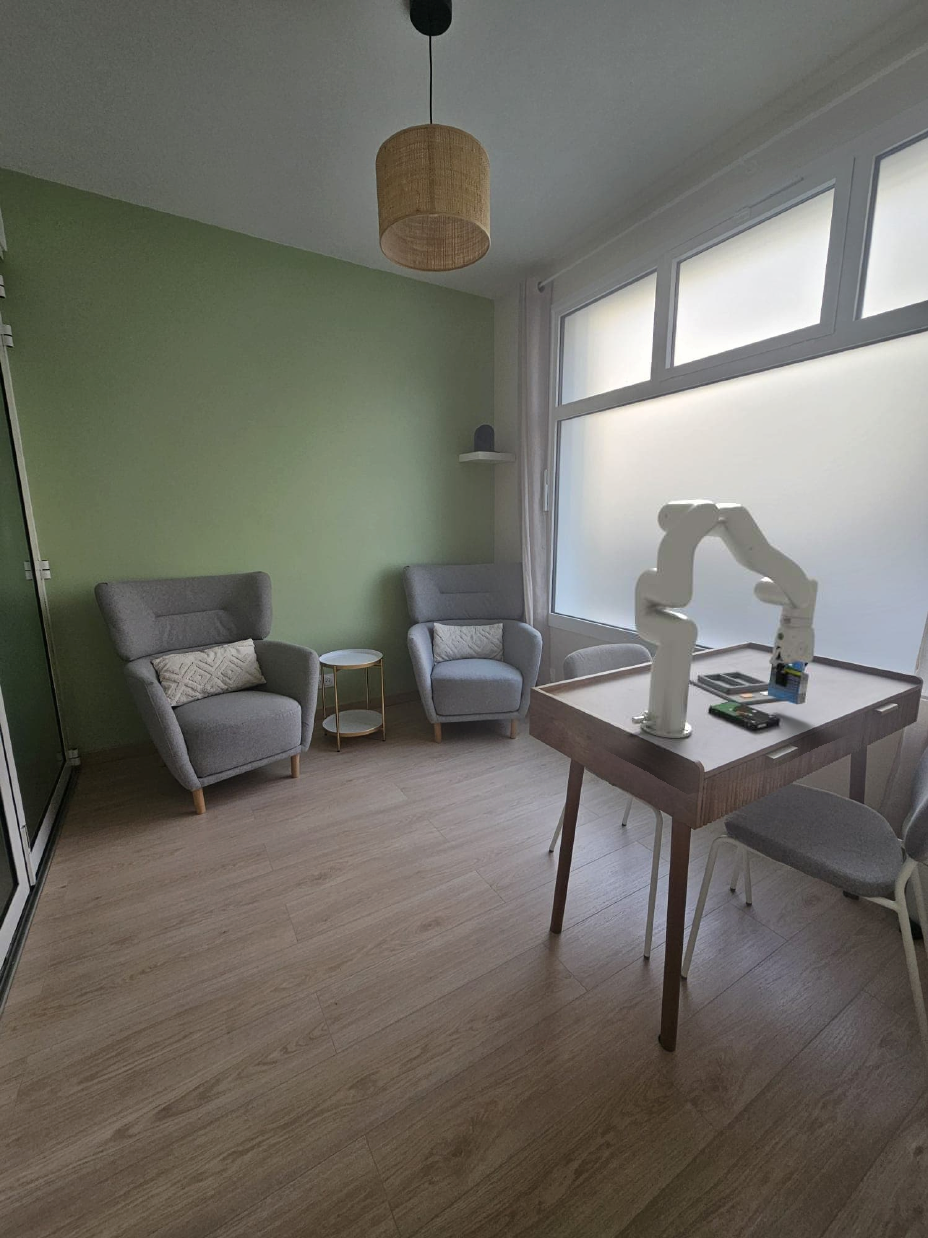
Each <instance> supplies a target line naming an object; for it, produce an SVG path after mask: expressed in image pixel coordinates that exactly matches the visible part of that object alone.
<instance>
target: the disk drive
mask: <svg viewBox="0 0 928 1238" xmlns="http://www.w3.org/2000/svg"><path fill="white" fill-rule="evenodd" d="M707 712H708V714H710V715H712V716H715V717H716V718H717V717H718V718H720V719H722V720H725V721H727V722H729V723H732V724H734V725H736V726H739V727H741V728H744V729H746V730H748V731H749V732H753V733H755V732H759V731H763V730H767V729H772V728H775V727H779V726H780V721H781V718H780V717H778V716H776V715H773V714H769V713H767V712H765V711H762V710H758V709H757V708H754V707H751V706H749V705H743V704H741V703H738V702H735V701H726V702H720V703H719V704H715V705H709V707H708V711H707Z"/></svg>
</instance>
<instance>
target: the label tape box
mask: <svg viewBox="0 0 928 1238" xmlns="http://www.w3.org/2000/svg"><path fill="white" fill-rule="evenodd" d="M803 664H804V662H799V661H797V663H795V664H789V665H788V668H787V671H786V673H788V677H787V684H786V687H782V686H780V685H777V684H775V679H776V672H777V671H776V670H775V668H774V666H773V665H772V664H771V666H770V667H771V670H770V676H769V682H768V683H769V688H768V695H769V696H772V697H775V698H779V699H782V700H781V701H785V702H789V703H791V704H794V705H803V704H805V703H806V697H807V690H808V683H809V678H810V677H809V674H808V673H806V672H805V671H804V672H803V671H802V668H803ZM781 665H782V667H783V665H784V664H783V663H782V664H781Z"/></svg>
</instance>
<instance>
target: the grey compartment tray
mask: <svg viewBox="0 0 928 1238" xmlns="http://www.w3.org/2000/svg"><path fill="white" fill-rule="evenodd" d="M689 684H691V685H694V686H696V687H698V688H700V689H702V690H705V692H706V691H707V692H709V693H711V694H713V695H715V696H718V697H719V698H722V699H724V700H726V701H727V702H729V701H735V702H738V703H741V704H743V705H746V706H748V705H753V704H755V705H756V704H761V703H762V704H763V703H770V702H776V701H783V700H782V699H779V698H775V697H772V696H769V695H768V688H769V682H768V681H765V680H762V679H760V678H757V677H755V676H752V675H750V674H746V673H744V672H741V671H738V670H736V671H727V672H726V671H725V672H719V673H716V672H715V673H708V674H700V675H697V678H695V679H694V678H693V679H690V681H689Z"/></svg>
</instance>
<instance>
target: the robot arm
mask: <svg viewBox="0 0 928 1238" xmlns="http://www.w3.org/2000/svg"><path fill="white" fill-rule="evenodd" d="M754 519H755V518H753V516H752V514H751V513H750V511H749V510H748V509H747V508H746V507H745V506H744V505H741V504H738V503H717V504H716V503H715V502H713V501H710V500H703V499H692V500H676V501H670V502H668V503H666V504H665V505H663V506H662V507H661V508H660V510H659V512H658V515H657V524H658V527H659V528H660V529H661V530H662V531H663V532H664V533H665V534H664V536H663V537H662V539H661V541H660V542H659V546H658V550H657V557H656V567H654V568H653V567H651V568H649V569H646V570H644V571H643V572H642V573H641V574H640V575H639V577H638V578H637V580H636V583H635V587H634V627H635V630H636V631H635V632H636V633H637V635H638V636H639V637H640V638H641V639H642V640H645V641H646V642H648V643H651V644H653V645H656V646H657V647H658V648H657V650H656V652H655V653H654V656H653V658H652V660H651V666H650V678H649V679H650V683H649V694H648V695H649V696H648V707H647V708H648V710H644V713H643V714H641V716H639V715H637V716H633V717H631V724H633V725H639V724H640V726H641V728H642V729H643V730H644V731H645V732H647V733H649V734H651V735H654V736H657V737H661V738H666V739H669V738H670V739H682V738H686V737H688V736H690V735H691V734H692V726H691V725H690V724H689V723H688V722H687V715H688V700H689V689H690V683H689V681H690V680H691V679H690V678H691V667H692V660H693V656H694V655H693V654H694V651H695V647H696V644H697V641H698V635H699V630H698V626H697V624H696V623H695V622H694V621H693V620H692V618H690V617H689V616H687V615H685V614H682V613H679V612H675V611H671V610H668V609H667V608H669V609H673V610H674V609H677V610H678V609H682V608H686V607H687V606H688V605H690V603H691V601H692V597H693V591H694V587H693V586H694V561H695V559H694V558H695V553H696V550H697V548H698V546H699V544H700V543H701V542H702V540H703V539H704V538H706V537H717V538H720V539H721V540H722V542H723V543H724V545H725V546H726V548H727V549H728V551H729V552H730V553H731V555H732V556H733V558H734V560H735V562H736V563H738V565H740V566H742V567H743V568H745V569H747V570H749V571H751V572H753V573H756V574H758V575H761V576H762V577H764V578H761V579H760V580H758V581H756V584H755V585H754V588H753V594H754V596H755V598H756V599H757V600H758V601H759V602H761V603H764V604H767V605H772V606H775V607H776V606H778V607H782V608H781V614H780V616H781V617H780V619H779V626H778V628H777V631H776V634H775V638H774V642H773V648H772V649H773V650H772V656H771V657H770V659H769V660H768V662H769V664H771V666H772V665H773V666H774V668H775V670H776V671H777V672H776V679H775V684H777V685H780V686H782V687H786V684H787V677H788V673H786V671H787V668H788V665H792V664H795V663H797V661H799V662H804V664H803V668H802V671H803V672H804V673H805V670H806V667H807V666H808V664H809V663H811V662H812V661H813V660H814V655H815V654H814V652H815V637H816V636H815V628H814V627H813V623H814V616H815V615H814V614H815V610H816V602H817V596H818V588H819V582H818V581H817V580H816V579H815V578H810V577H807V575H806V573H805V571H804V570H803V569H802V568H801V567H800V565H799V564H797V562H795V561H794V560H793V559H791V558H790V557H789V556H787V555H785V554H784V553H783V552H781V551H780V550H778V549H777V548H776V547H774V546H772V544H771V543H769V541H768V539H767V538H766V536H765V535H764V533H763V531H762V530H761V529H760V527H759V526H758V524H757V523H756V521H755V520H754ZM782 663H783V664H784V665H783V667H782V665H781V664H782Z"/></svg>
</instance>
